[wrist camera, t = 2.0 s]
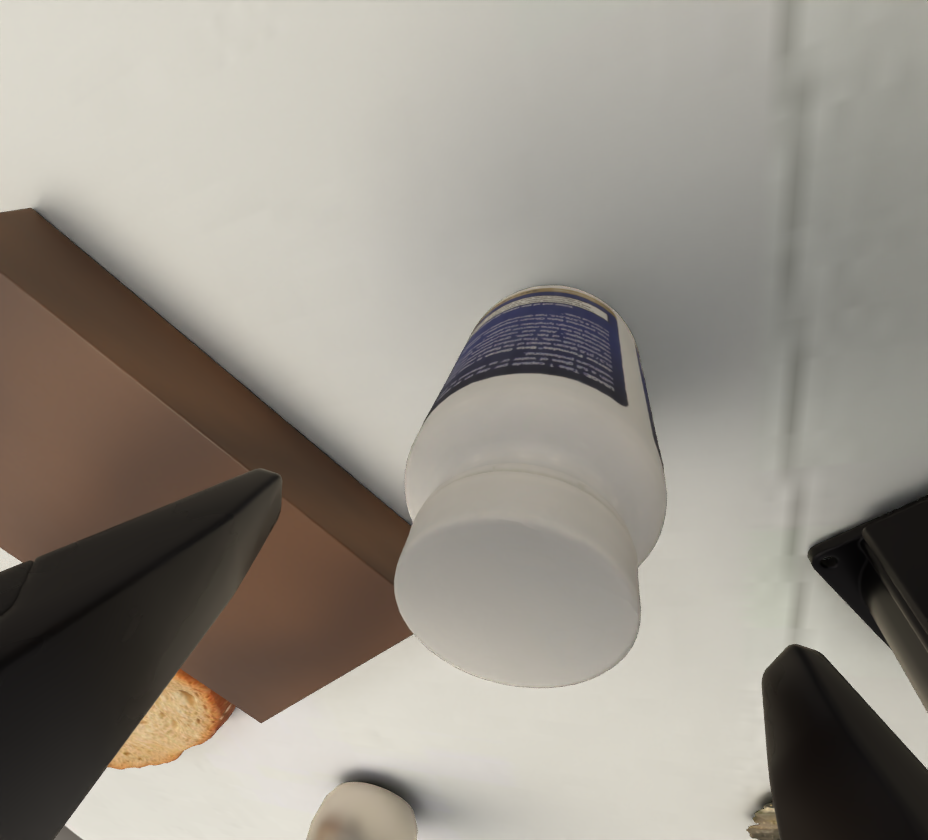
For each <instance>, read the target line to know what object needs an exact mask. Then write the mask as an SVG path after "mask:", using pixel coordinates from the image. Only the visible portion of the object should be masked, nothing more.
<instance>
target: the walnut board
mask: <svg viewBox="0 0 928 840" xmlns="http://www.w3.org/2000/svg"><path fill="white" fill-rule="evenodd" d="M258 468H262V469H265V470H268V471H271V472H275V473H278V474H279V475H280V476H281V477H282V502H281V512H280V515H279V518H278V520H277V522H276V524H275V526H274V527H273V529H272V531H271V533H270V534H269V536H268V538H267V539H266V541H265V543H264V545H263V546H262V548H261V550H260V551H259V553H258V555H257V557H256V558H255V560H254V562H253V563H252V565H251V567H250V569H249V570H248V572H247V574H246V575H245V577H244V579H243V581H242V582H241V584H240V586H239V587H238V589H237V591H236V592H235V594H234V595H233V597H232V598H231V600H230V601H229V602H228V604H227V605H226V607H225V608H224V609H223V611H222V612H221V613H220V615H219V616H218V618H217V619H216V620H215V622H214V623H213V624H212V626H211V627H210V628H209V630H208V631H207V632H206V634H205V635H204V636H203V638H202V639H201V641H200V642H199V643H198V645H197V646H196V647H195V649H194V650H193V651H192V653H191V654H190V655H189V657H188V658H187V660H186V661H185V662H184V664H183V665H182V666H181V668H180V669H181V670H183V671H184V672H186V673H187V674H189V675H190V676H192V677H193V678H195V679H196V680H198V681H199V682H201V683H202V684H204V685H205V686H207V687H208V688H210V689H211V690H213V691H214V692H215V693H217V694H218V695H220V696H221V697H223V698H224V699H226V700H227V701H229V702H230V703H232V704H233V705H235V706H236V707H238V708H239V709H241V710H242V711H244V712H245V713H247V714H248V715H250V716H251V717H253V718H254V719H256V720H257V721H259V722H260V723H262V722H264V721H266V720H268V719H269V718H271V717H273V716H274V715H276V714H278V713H280V712H281V711H283V710H285V709H286V708H288V707H290V706H291V705H293V704H295V703H297V702H298V701H300V700H302V699H303V698H305V697H307V696H309V695H310V694H312V693H314V692H315V691H317V690H319V689H321V688H322V687H324V686H326V685H327V684H329V683H331V682H332V681H334V680H336V679H338V678H339V677H341V676H343V675H344V674H346V673H348V672H350V671H351V670H353V669H355V668H356V667H358V666H360V665H362V664H363V663H365V662H367V661H368V660H370V659H372V658H373V657H375V656H377V655H379V654H380V653H382V652H384V651H385V650H387V649H389V648H391V647H392V646H394V645H396V644H397V643H399V642H401V641H403V640H404V639H406V638H408V637H409V636H411V635H413V633H412V631H411V630H410V629H409V627H408V626H407V624H406V623H405V621H404V619H403V618H402V616H401V614H400V611H399V608H398V605H397V602H396V598H395V593H394V578H395V572H396V567H397V564H398V561H399V558H400V555H401V553H402V550H403V548H404V546H405V543H406V541H407V538H408V536H409V532H410V529H411V526H410V525H409V524H408V523H407V522H406V521H404V520H403V519H402V518H401V517H400V516H398V515H397V514H396V513H395V512H394V511H393V510H391V509H390V508H389V507H388V506H387V505H385V504H384V503H383V502H382V501H381V500H379V499H378V498H377V497H376V496H375V495H373V494H372V493H371V492H370V491H369V490H367V489H366V488H365V487H364V486H363V485H362V484H360V483H359V482H358V481H357V480H356V479H354V478H353V477H352V476H351V475H350V474H348V473H347V472H346V471H345V470H344V469H342V468H341V467H340V466H339V465H338V464H336V463H335V462H334V461H333V460H332V459H330V458H329V457H328V456H327V455H326V454H325V453H323V452H322V451H321V450H320V449H319V448H317V447H316V446H315V445H314V444H313V443H311V442H310V441H309V440H308V439H307V438H305V437H304V436H303V435H302V434H301V433H299V432H298V431H297V430H296V429H295V428H293V427H292V426H291V425H290V424H289V423H288V422H286V421H285V420H284V419H283V418H282V417H280V416H279V415H278V414H277V413H276V412H274V411H273V410H272V409H271V408H270V407H268V406H267V405H266V404H265V403H264V402H262V401H261V400H260V399H259V398H258V397H257V396H255V395H254V394H253V393H252V392H251V391H249V390H248V389H247V388H246V387H245V386H243V385H242V384H241V383H240V382H239V381H237V380H236V379H235V378H234V377H233V376H231V375H230V374H229V373H228V372H227V371H225V370H224V369H223V368H222V367H221V366H220V365H218V364H217V363H216V362H215V361H214V360H212V359H211V358H210V357H209V356H208V355H206V354H205V353H204V352H203V351H202V350H200V349H199V348H198V347H197V346H196V345H194V344H193V343H192V342H191V341H190V340H188V339H187V338H186V337H185V336H184V335H183V334H181V333H180V332H179V331H178V330H177V329H175V328H174V327H173V326H172V325H171V324H169V323H168V322H167V321H166V320H165V319H163V318H162V317H161V316H160V315H159V314H157V313H156V312H155V311H154V310H153V309H151V308H150V307H149V306H148V305H147V304H146V303H144V302H143V301H142V300H141V299H140V298H138V297H137V296H136V295H135V294H134V293H132V292H131V291H130V290H129V289H128V288H126V287H125V286H124V285H123V284H122V283H120V282H119V281H118V280H117V279H116V278H115V277H113V276H112V275H111V274H110V273H109V272H107V271H106V270H105V269H104V268H103V267H101V266H100V265H99V264H98V263H97V262H95V261H94V260H93V259H92V258H91V257H89V256H88V255H87V254H86V253H85V252H83V251H82V250H81V249H80V248H79V247H78V246H76V245H75V244H74V243H73V242H72V241H70V240H69V239H68V238H67V237H66V236H64V235H63V234H62V233H61V232H60V231H58V230H57V229H56V228H55V227H54V226H52V225H51V224H50V223H49V222H48V221H46V220H45V219H44V218H43V217H42V216H41V215H39V214H38V213H37V212H36V211H35V210H33V209H32V208H27V209H20V210H14V211H7V212H0V548H2V549H3V550H5V551H6V552H8V553H9V554H11V555H12V556H14V557H15V558H17V559H18V560H20V561H21V562H23V563H24V562H26V561H29V560H32V561H34V560H35V559H36V558H37V557H39V556H42V555H44V554H46V553H49V552H51V551H54V550H56V549H59V548H61V547H64V546H66V545H69V544H71V543H74V542H76V541H79V540H81V539H84V538H86V537H89V536H91V535H93V534H96V533H98V532H101V531H103V530H106V529H108V528H111V527H113V526H116V525H118V524H121V523H123V522H126V521H128V520H131V519H133V518H136V517H138V516H140V515H143V514H145V513H148V512H150V511H153V510H155V509H158V508H160V507H163V506H165V505H168V504H170V503H173V502H175V501H178V500H180V499H182V498H185V497H187V496H190V495H192V494H195V493H197V492H200V491H202V490H205V489H207V488H210V487H212V486H215V485H217V484H220V483H222V482H225V481H227V480H229V479H232V478H234V477H237V476H239V475H242V474H244V473H247V472H249V471H252V470H254V469H258Z"/></svg>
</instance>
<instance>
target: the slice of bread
mask: <svg viewBox="0 0 928 840" xmlns="http://www.w3.org/2000/svg"><path fill="white" fill-rule="evenodd" d="M235 707H236V706H235V705H233V704H232V703H230V702H229V701H227V700H226V699H224V698H223V697H221V696H220V695H218V694H217V693H215V692H214V691H213V690H211V689H210V688H208V687H207V686H205V685H204V684H202V683H201V682H199V681H198V680H196V679H195V678H193V677H192V676H190V675H189V674H187V673H186V672H184V671H183V670H181V669H179V670H178V672H177V673H176V674H175V676H174V677H173V678H172V680H171V681H170V683H169V684H168V685H167V687H166V688H165V689H164V691H163V692H162V693H161V695H160V696H159V697H158V699H157V700H156V702H155V703H154V704H153V706H152V707H151V708H150V710H149V711H148V712H147V714H146V715H145V716H144V718H143V719H142V720H141V722H140V723H139V725H138V726H137V727H136V729H135V730H134V731H133V733H132V734H131V735H130V737H129V738H128V739H127V741H126V742H125V744H124V745H123V746H122V748H121V749H120V750H119V752H118V753H117V754H116V756H115V757H114V758H113V760H112V761H111V762H110V764H109V765H108V767H111V768H116V769H125V768H131V767H136V768H141V767H144V766H148V765H153V766H154V765H160V764H163V763H168V762H171V761H174V760H176V759H177V758H178V757H179V756H180V755H181V754H182V752H183V751H184V750H186V749H188V748H190V747H192V746H195V745H199V744H202V743H204V742H205V741H207V740H208V739H210V738H211V737H212V736H213V735H214V734H215V733H216V731H217V730H218V729H219V728H220V727H221V726H222V725H223V724H224V723H225V722H226V721H227V720H228V718H229V717H230V715H231V714H232V712H233V711H234V709H235Z"/></svg>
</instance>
